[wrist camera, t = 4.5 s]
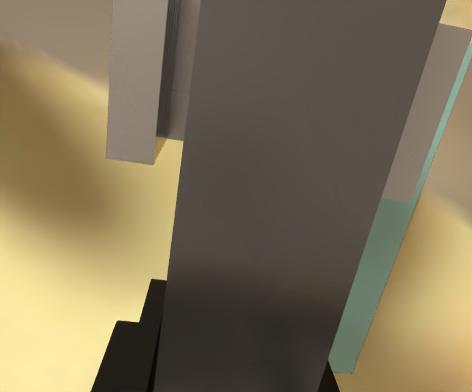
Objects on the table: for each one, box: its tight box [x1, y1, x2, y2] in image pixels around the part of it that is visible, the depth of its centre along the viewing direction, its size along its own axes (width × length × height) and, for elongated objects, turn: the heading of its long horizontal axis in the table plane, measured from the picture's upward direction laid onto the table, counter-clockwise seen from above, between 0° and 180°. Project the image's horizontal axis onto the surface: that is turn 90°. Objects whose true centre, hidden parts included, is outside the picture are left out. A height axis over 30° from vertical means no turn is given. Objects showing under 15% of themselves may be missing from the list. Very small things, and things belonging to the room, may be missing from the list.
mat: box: [328, 43, 472, 374], centre depth 19 cm, size 19×6×1 cm, turn 170°
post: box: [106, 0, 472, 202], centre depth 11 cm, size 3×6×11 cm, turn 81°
